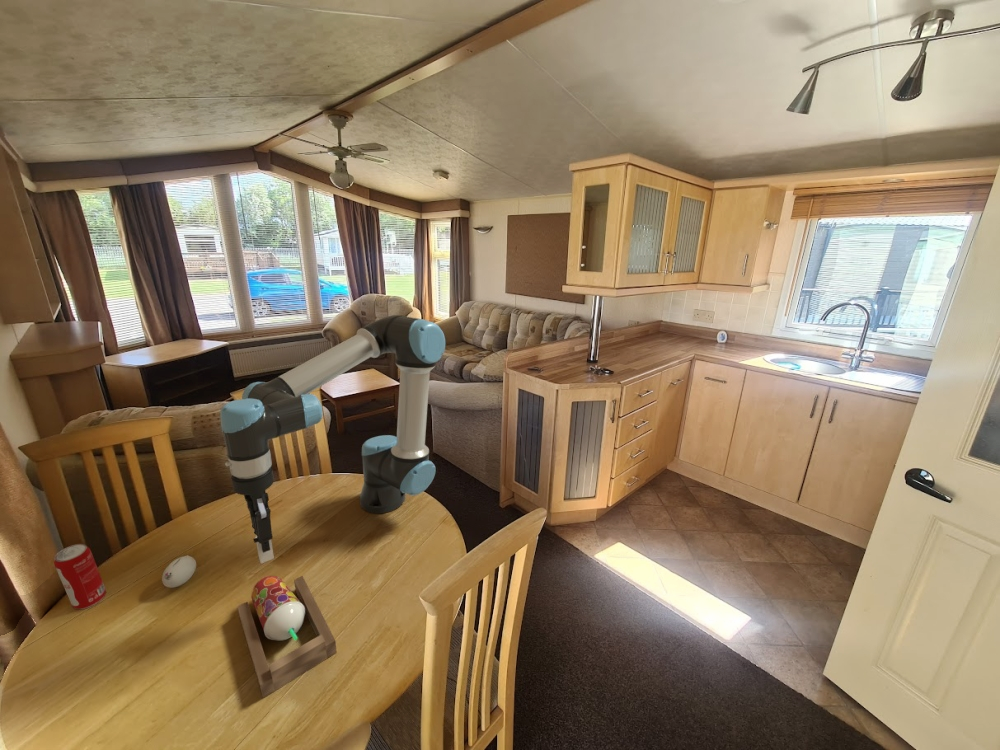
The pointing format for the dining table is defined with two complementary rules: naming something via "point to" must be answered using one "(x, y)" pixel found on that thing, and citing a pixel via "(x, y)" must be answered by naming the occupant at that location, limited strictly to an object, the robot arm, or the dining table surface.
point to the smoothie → (277, 608)
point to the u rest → (297, 659)
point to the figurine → (179, 571)
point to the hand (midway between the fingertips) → (266, 558)
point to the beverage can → (80, 576)
